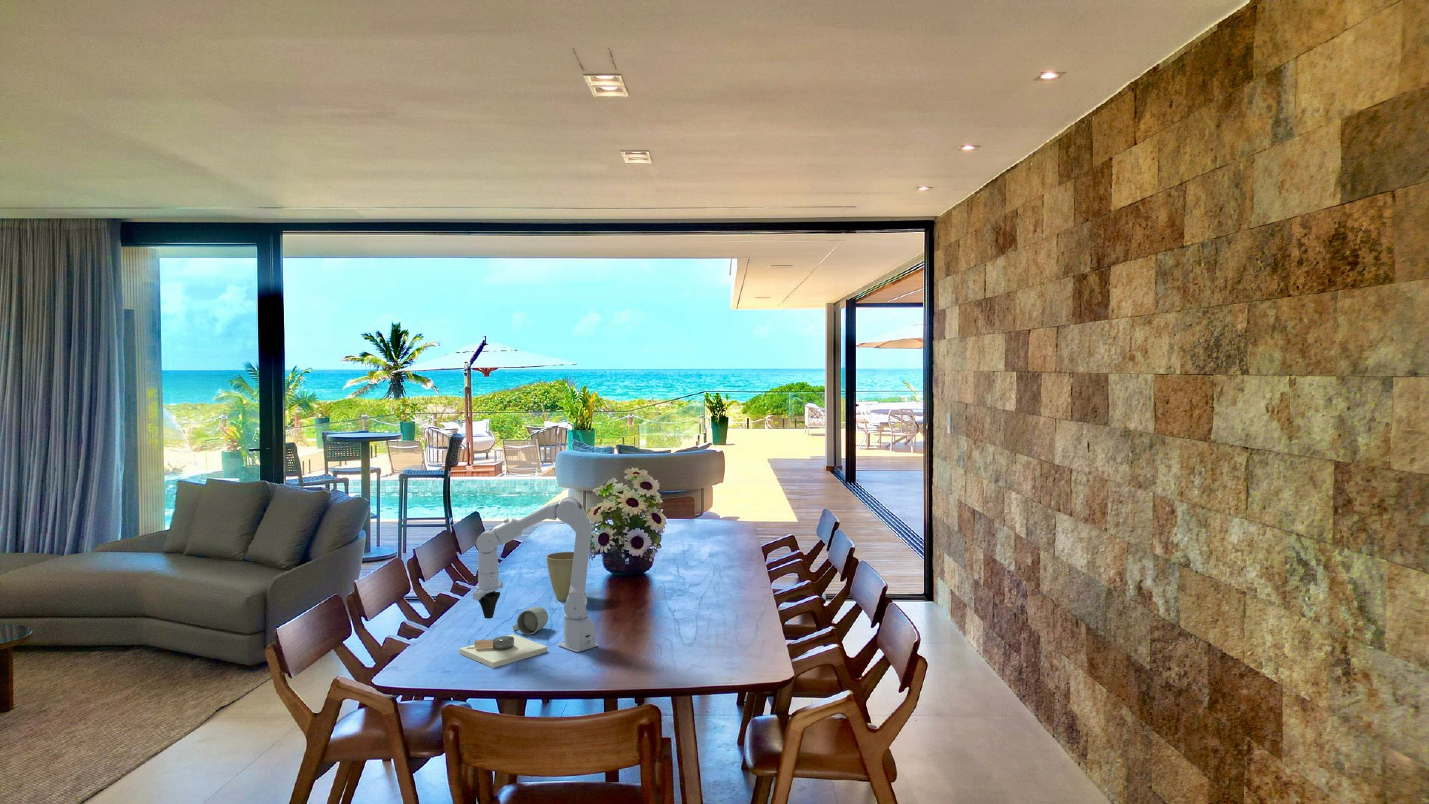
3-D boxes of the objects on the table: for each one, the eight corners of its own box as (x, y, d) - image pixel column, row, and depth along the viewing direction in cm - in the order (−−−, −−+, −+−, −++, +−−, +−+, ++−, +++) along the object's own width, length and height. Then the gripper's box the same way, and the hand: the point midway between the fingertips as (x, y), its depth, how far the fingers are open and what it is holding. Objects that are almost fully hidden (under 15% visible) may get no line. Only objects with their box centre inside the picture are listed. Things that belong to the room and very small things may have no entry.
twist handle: (515, 642, 230) (514, 635, 230) (513, 648, 224) (512, 641, 224) (476, 644, 228) (476, 637, 228) (473, 651, 222) (473, 644, 222)
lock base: (547, 651, 227) (547, 646, 227) (493, 668, 214) (492, 662, 214) (512, 638, 239) (512, 633, 239) (459, 653, 226) (459, 648, 226)
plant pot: (583, 603, 279) (583, 559, 278) (542, 603, 279) (541, 559, 279) (591, 593, 294) (590, 551, 293) (551, 593, 294) (551, 551, 294)
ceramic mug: (550, 628, 250) (549, 604, 250) (538, 635, 242) (538, 611, 242) (519, 626, 253) (519, 603, 252) (507, 634, 245) (507, 609, 244)
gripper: (487, 566, 237) (488, 610, 238) (463, 577, 223) (463, 624, 223) (509, 566, 236) (509, 611, 236) (485, 578, 222) (486, 625, 222)
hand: (488, 617), depth 230 cm, fingers closed
